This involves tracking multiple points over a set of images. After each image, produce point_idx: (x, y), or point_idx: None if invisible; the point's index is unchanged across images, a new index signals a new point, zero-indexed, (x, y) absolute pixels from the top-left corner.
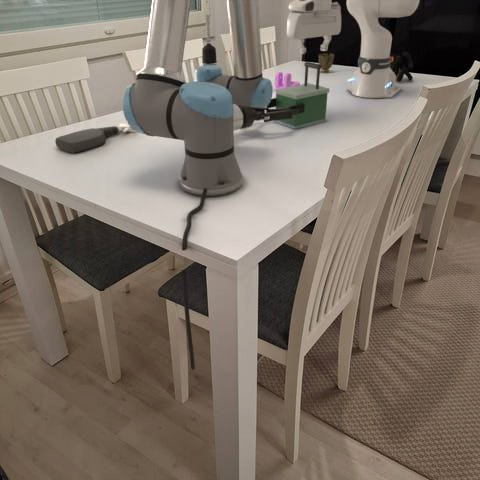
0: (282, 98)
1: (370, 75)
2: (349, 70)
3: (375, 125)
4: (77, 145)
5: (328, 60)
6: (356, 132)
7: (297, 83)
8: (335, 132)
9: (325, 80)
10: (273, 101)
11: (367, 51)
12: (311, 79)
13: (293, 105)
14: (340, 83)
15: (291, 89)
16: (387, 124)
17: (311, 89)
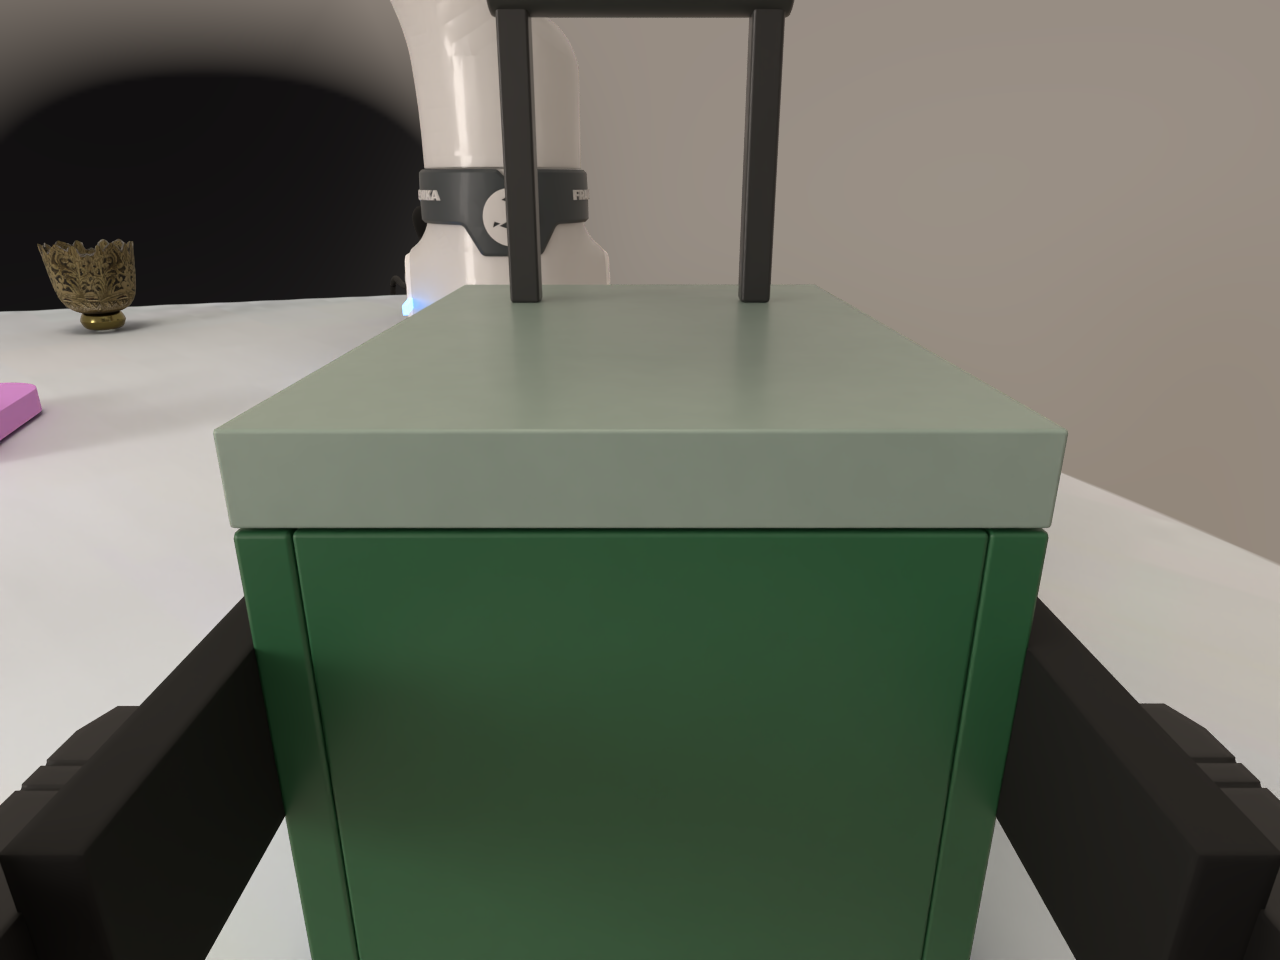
0: (510, 600)
1: (543, 260)
2: (216, 311)
3: (1069, 515)
4: None
5: (114, 267)
6: (1260, 640)
7: (21, 392)
8: (1244, 748)
9: (168, 356)
10: (225, 751)
11: (499, 125)
12: (73, 365)
13: (1069, 696)
14: (275, 354)
15: (521, 360)
16: (1065, 484)
17: (740, 313)
